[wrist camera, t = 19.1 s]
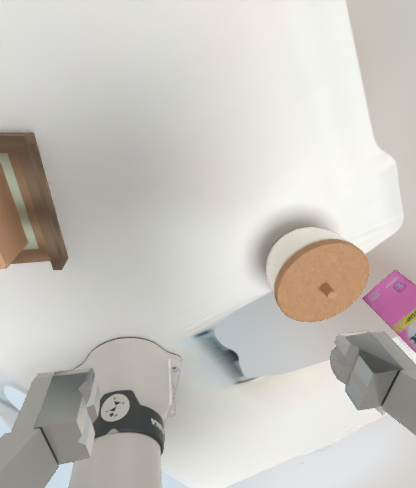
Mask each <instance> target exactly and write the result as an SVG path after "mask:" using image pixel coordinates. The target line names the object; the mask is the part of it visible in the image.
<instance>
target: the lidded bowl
mask: <svg viewBox="0 0 416 488" xmlns="http://www.w3.org/2000/svg"><path fill="white" fill-rule="evenodd" d="M266 274H267V279H268V283H269V286H270V288H271V291H272V293H273V295H274V297H275V299H276V302H277V304H278V306H279V307H280V309H281V310H282V312H283V313H284V314H285V315H286V316H288V317H289V318H292V319H294V320H297V321H302V322H316V321H322V320H325V319H328V318H331V317H333V316H335V315H337V314H339V313H341V312H342V311H344V310H345V309H347V308H348V307H349V306H350V305H351V304H352V303H353V302H354V301H355V300H356V299H357V298H358V297H359V295H360V294H361V292H362V291H363V289H364V287H365V285H366V283H367V280H368V276H369V265H368V261H367V258H366V256H365V254H364V253H363V252H362V251H361V250H360V249H359V248H358V247H356V246H355V245H353V244H352V243H350V242H348V241H347V240H345V239H344V238H342V237H340V236H339V235H337V234H335V233H333V232H331V231H328V230H325V229H322V228H316V227H305V228H299V229H296V230H293V231H291V232H289V233H287V234H285V235H284V236H282V237H281V238H280V239H279V240H278V241H277V242H276V243H275V244H274V246H273V247H272V249H271V251H270V253H269V256H268V259H267V264H266Z"/></svg>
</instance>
